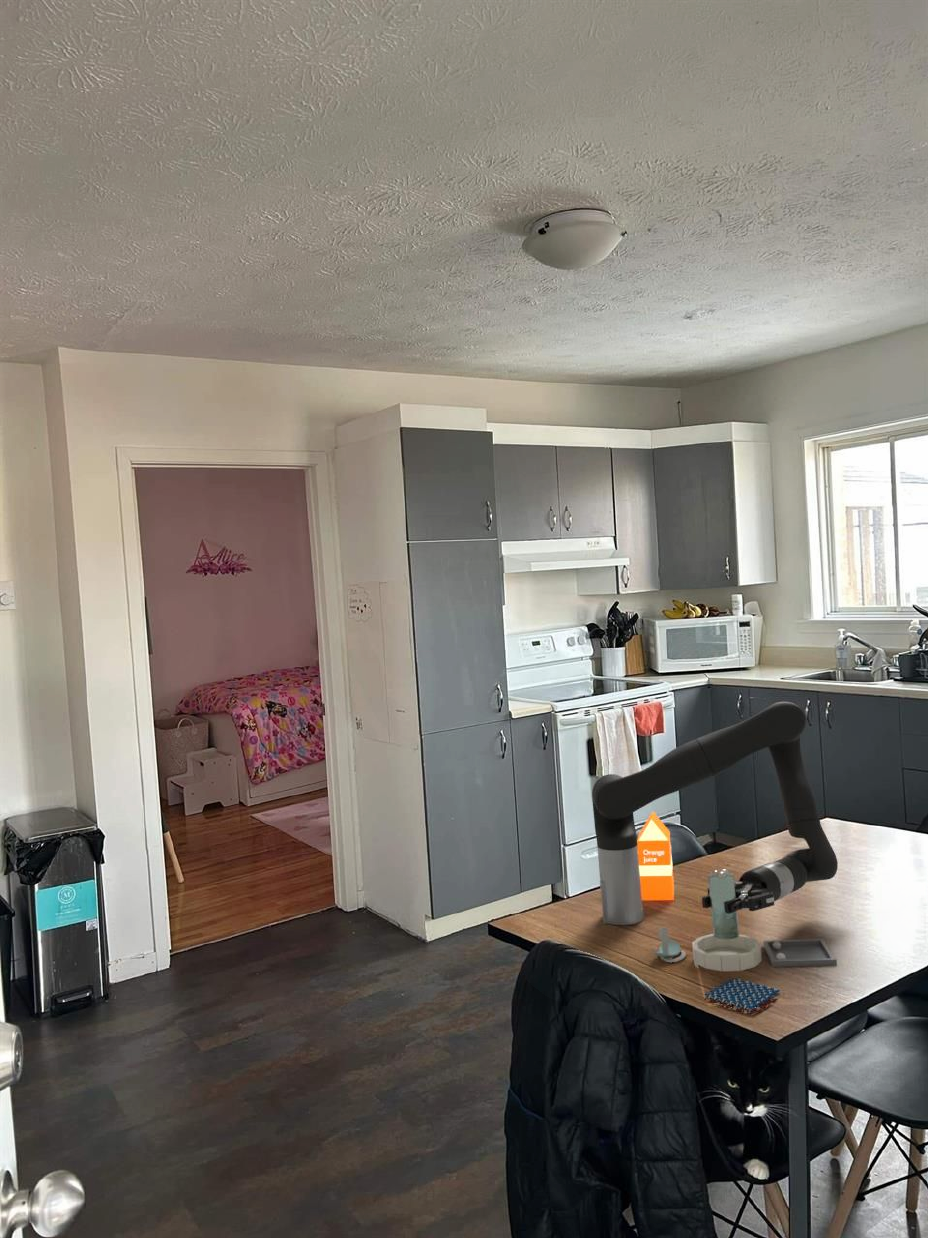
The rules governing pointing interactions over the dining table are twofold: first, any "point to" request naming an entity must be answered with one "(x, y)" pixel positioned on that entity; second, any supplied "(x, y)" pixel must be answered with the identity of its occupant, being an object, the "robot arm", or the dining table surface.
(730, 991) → the woven mat
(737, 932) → the teal cylinder
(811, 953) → the parts tray
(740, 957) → the bowl
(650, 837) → the orange juice
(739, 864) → the dining table surface
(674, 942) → the pacifier
